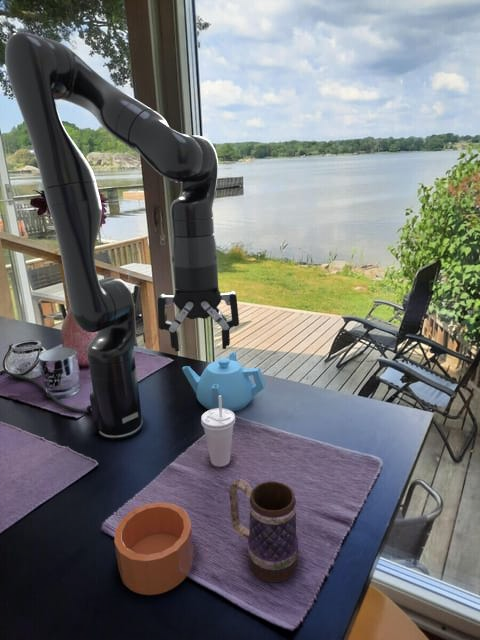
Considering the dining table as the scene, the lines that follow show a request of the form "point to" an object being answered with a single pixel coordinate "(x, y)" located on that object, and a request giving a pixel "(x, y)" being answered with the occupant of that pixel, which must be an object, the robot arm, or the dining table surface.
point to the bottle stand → (154, 548)
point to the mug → (268, 528)
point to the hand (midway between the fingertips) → (201, 348)
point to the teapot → (225, 384)
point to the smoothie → (219, 433)
